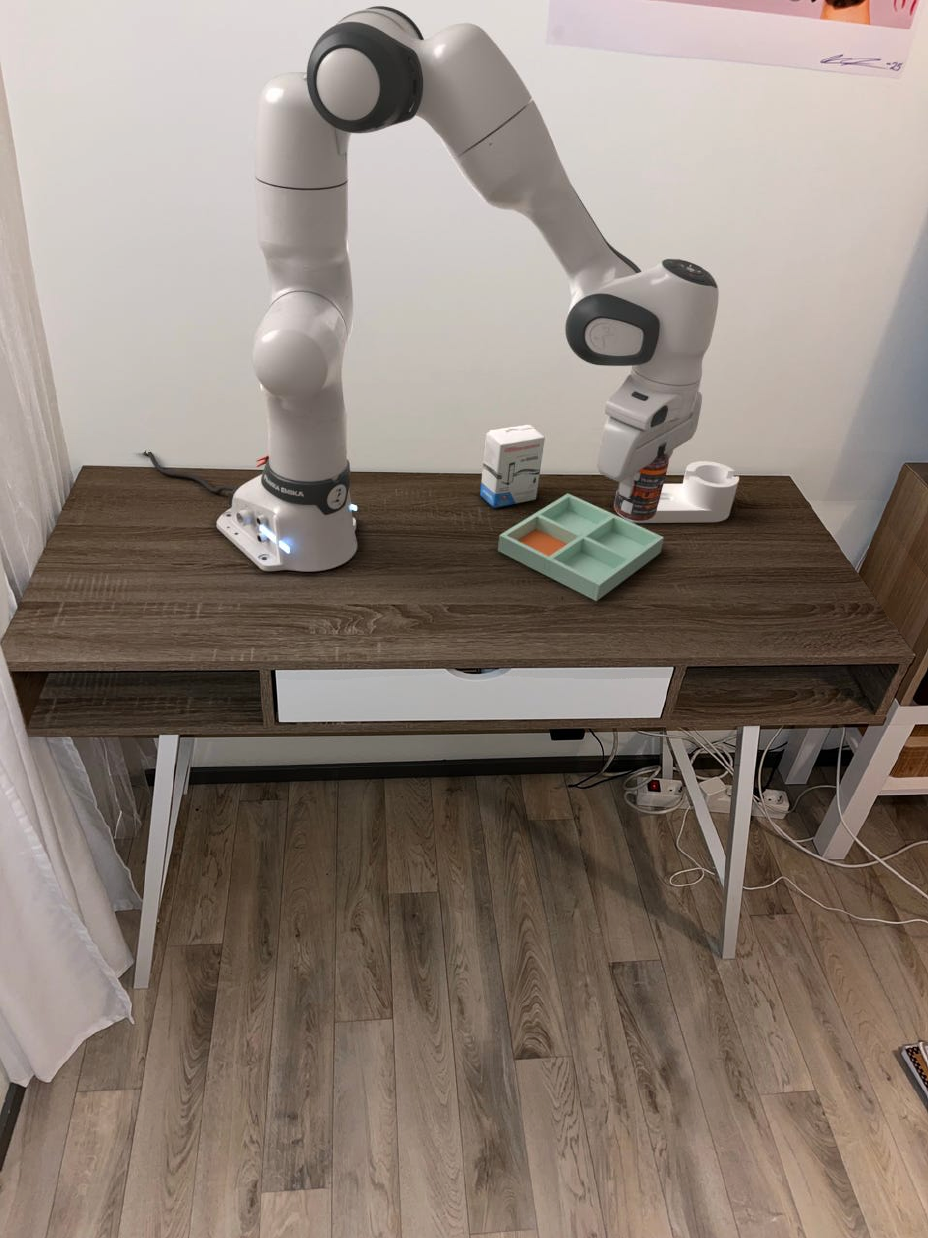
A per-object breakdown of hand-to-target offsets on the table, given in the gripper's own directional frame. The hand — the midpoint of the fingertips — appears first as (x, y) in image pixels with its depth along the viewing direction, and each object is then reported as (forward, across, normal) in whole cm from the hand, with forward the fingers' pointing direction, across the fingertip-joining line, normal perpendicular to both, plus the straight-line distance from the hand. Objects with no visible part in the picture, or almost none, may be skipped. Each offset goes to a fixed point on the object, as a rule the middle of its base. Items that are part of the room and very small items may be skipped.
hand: (640, 485), depth 138 cm
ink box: (+19, -10, -28) cm, 35 cm away
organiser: (+18, -5, -10) cm, 22 cm away
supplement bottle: (+4, 0, 0) cm, 4 cm away
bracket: (+18, -28, -7) cm, 34 cm away
